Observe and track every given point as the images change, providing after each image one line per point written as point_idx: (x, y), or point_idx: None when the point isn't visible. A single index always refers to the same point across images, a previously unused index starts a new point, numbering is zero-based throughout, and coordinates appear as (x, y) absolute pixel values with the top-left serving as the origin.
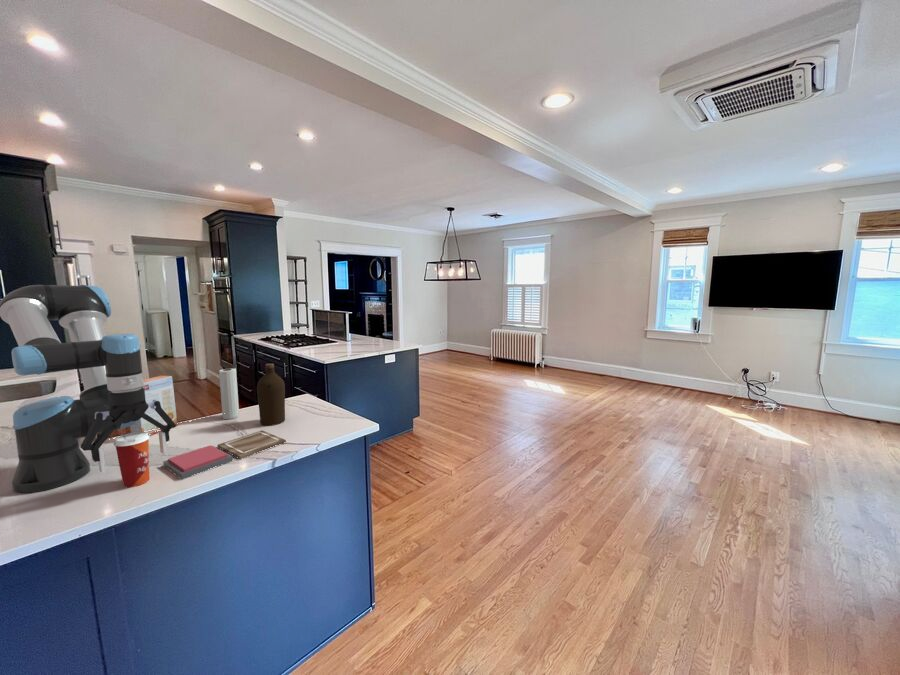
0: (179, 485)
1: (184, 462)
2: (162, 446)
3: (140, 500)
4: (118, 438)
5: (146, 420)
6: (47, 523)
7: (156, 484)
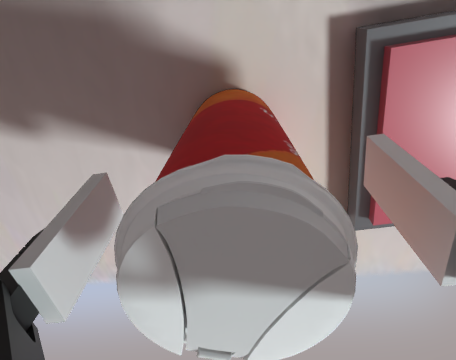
0: None
1: None
2: (384, 198)
3: None
4: (137, 285)
5: None
6: (32, 226)
7: None
